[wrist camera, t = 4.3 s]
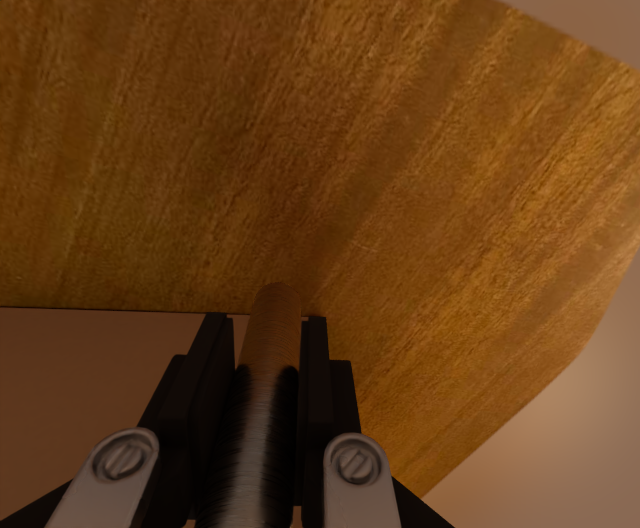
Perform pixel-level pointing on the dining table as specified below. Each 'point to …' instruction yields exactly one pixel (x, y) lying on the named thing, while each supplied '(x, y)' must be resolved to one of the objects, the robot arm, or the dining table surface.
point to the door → (135, 393)
